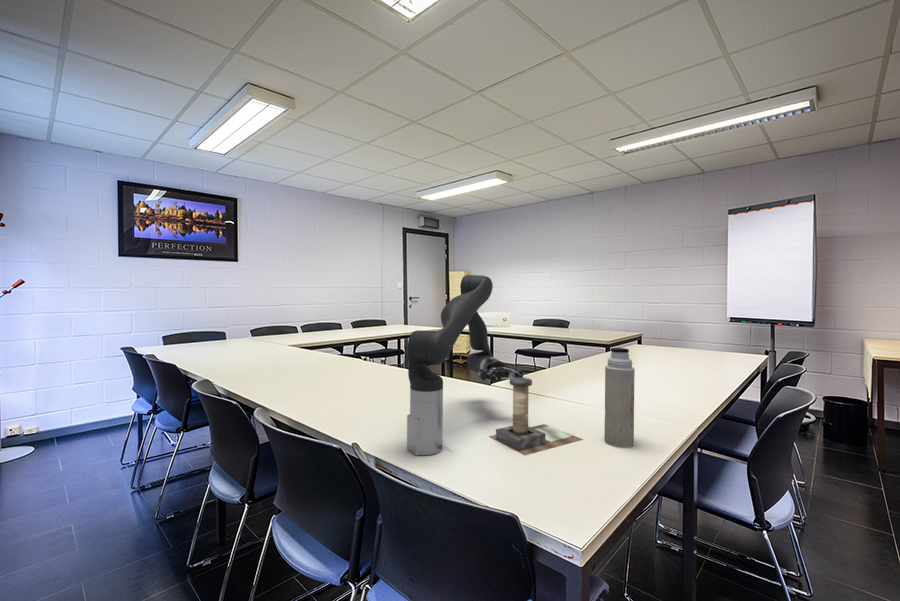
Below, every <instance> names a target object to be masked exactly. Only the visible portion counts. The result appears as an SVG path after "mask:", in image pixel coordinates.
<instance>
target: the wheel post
mask: <svg viewBox="0 0 900 601" xmlns="http://www.w3.org/2000/svg"><path fill="white" fill-rule="evenodd" d="M509 384H510V386H512V426H513V433H514V434H516V435H518V436H522V435H527V434H528V427H529V387H531V386H532V385H533V380H532V378H528V377H523V378H520V377H517V378H511V379H509Z"/></svg>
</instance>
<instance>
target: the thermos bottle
mask: <svg viewBox="0 0 900 601" xmlns="http://www.w3.org/2000/svg"><path fill="white" fill-rule="evenodd" d="M629 352H630V349H628V348H622V347H612V348H610V357H609V358H608V359H607V362H606V363H607V365H605V366H604V372H605V373H604V437H603V438H604V442H605V443H606V444H607V445H610V446H613V447H618V448H632V447H633V446H634V442H635V441H634V440H635V439H634V438H635V434H634V433H635V432H634V431H635V374H636V373H635V370H636V369H635V368H634V367H633V360H632V359H630V355H629V354H630V353H629Z"/></svg>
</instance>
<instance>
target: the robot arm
mask: <svg viewBox="0 0 900 601" xmlns="http://www.w3.org/2000/svg"><path fill="white" fill-rule="evenodd" d="M493 284H494V283H493V281H492V279H491V278H490V276H486V275H477V274H465V275H464V276H463V277H462V278H461V280H460V286H459V288H460V294H459V295H457V296H455V297H453V298H451V300H449V301H448V302H447V304H446V305H445V306H444V307H443V309H442V310H441V313H440V321H441V325H442V328H441V329H439V330H418V329H417V330H414V331H412V333H410V335H409V338H408V340H407V350H406V351H407V353H406V354H407V366H408V367H407V369H408V370H407V371H408V372H407V374H408V375H407V376H408V381H409V390H410V391H409V414H407V415H406V449H407V450H408V451H410V452H411V453H412V454H413V455H415V456H430V455H436V454H439V453H440V452H442V451H443V443H444V441H443V439H444V438H443V433H444V432H443V428H444V426H443V425H444V421H443V420H444V418H443V417H444V380H443V378H442V376H441V375H439V374H437V373H435V372H433V371H432V370H431V369H430V368H429V367H428V365H435V366H436V365H441V364H443V363H444V362H445V361H447V359H448V357H449V355H450V353H451V351H452V350H453V348H454V346H455V344H456V342H457V340H458V338H459V336H460V335H461V334H462V332H463V330H464V329H465V328H466V327H467V326H468V330H469V331H468V332H469V333H468V336H469V344H470V348H471V349H472V350H474V351H476V352H473V353H470V354H469V355H468V356H467V359H466V364H467V367H468V368H469V369H470V370H471V371H472V372H474V373H478V377H479V378H480V380H482V381H486V380H487V381H489V382H492V383H497V382H501V381H502V380H510V379H511V378H517V377H520V378H524V370H522V369H520V368H518V367H514V368H508V367H507V366H506V364H505V363H504V362H502V361H501V360H499V359H497V358H496V357H494V356H493V354H492V351H491V348H490V344H489V338H488V337H489V336H488V329H487V328H488V327H487V325H486V323H485V320H483V317H482V316H480V314H479V312H478V310H479V309H480V308H481V307H482V306H483V305H484V304H485V303H487V301H488V300H489V299H490V297H491V295H492V292H493V288H494V287H493V286H494V285H493Z"/></svg>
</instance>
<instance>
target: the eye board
mask: <svg viewBox="0 0 900 601" xmlns="http://www.w3.org/2000/svg"><path fill="white" fill-rule="evenodd" d="M488 438H490V439H492V440H494V441H495V442H497V443H500V444H501V445H504V446H505V447H508V448H509V449H512V450H514V451H515V452H517V453H519V454H520V455H523V456H528V455H532V454H537V453H540V452H543V451H547V450H551V449H554V448H558V447H561V446H564V445H565V446H566V445H569V444H572V443H573V444H574V443H576V442H579V441H583V440H584V438H581V437H578V436H576V435H574V434H571V433H569V432H567V431H564V430H562V429H558V428H556V427H553V426H551V425H548V424H545V423H543V424H540V425H539V424H538V425H533V426H528V434H527V435H522V436H518V435H516V434H514V433H513V425H511V426H509V425H508V426H504V427H499V428H496V429H495V434H493V435H488Z"/></svg>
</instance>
